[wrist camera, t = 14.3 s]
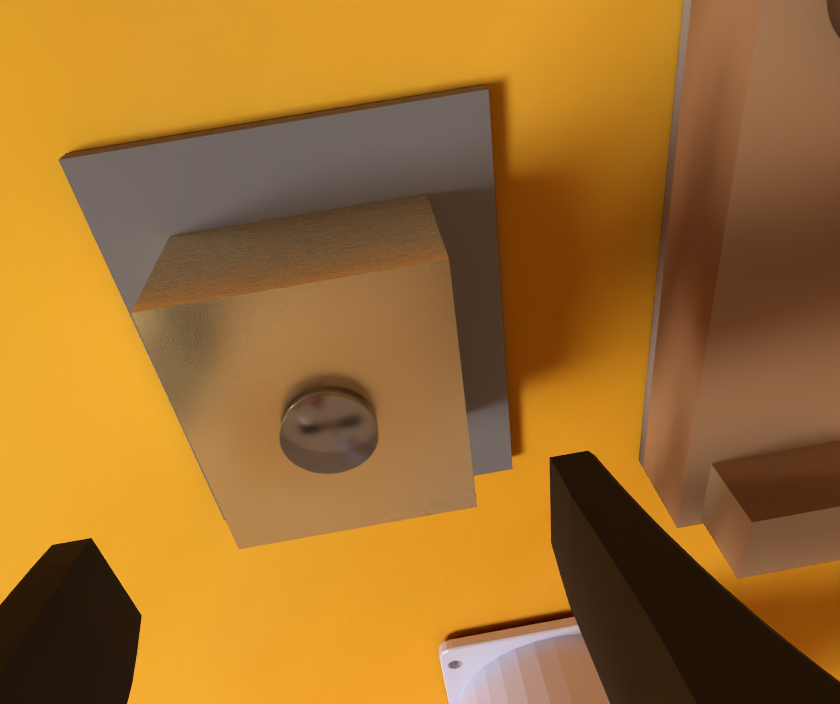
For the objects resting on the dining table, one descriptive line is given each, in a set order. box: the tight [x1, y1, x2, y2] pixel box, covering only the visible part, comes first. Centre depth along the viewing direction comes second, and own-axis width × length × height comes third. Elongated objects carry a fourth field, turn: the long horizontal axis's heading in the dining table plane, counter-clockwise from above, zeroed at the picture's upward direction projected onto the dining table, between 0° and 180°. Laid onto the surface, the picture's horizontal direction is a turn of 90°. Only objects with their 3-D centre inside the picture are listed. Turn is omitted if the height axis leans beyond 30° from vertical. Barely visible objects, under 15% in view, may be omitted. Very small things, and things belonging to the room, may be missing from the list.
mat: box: [59, 85, 512, 520], centre depth 15 cm, size 10×8×1 cm
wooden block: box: [131, 193, 477, 549], centre depth 13 cm, size 6×5×3 cm
